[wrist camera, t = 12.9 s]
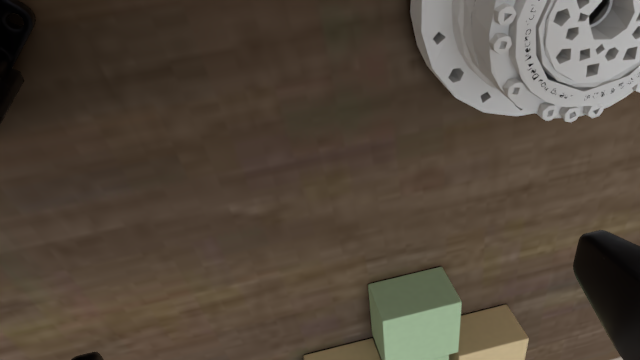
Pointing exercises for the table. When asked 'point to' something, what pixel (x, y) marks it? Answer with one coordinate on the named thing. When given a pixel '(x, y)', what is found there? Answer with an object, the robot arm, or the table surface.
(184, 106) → the table surface
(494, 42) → the mechanical component
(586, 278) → the robot arm
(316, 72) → the table surface
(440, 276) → the pad
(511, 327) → the dock pad
